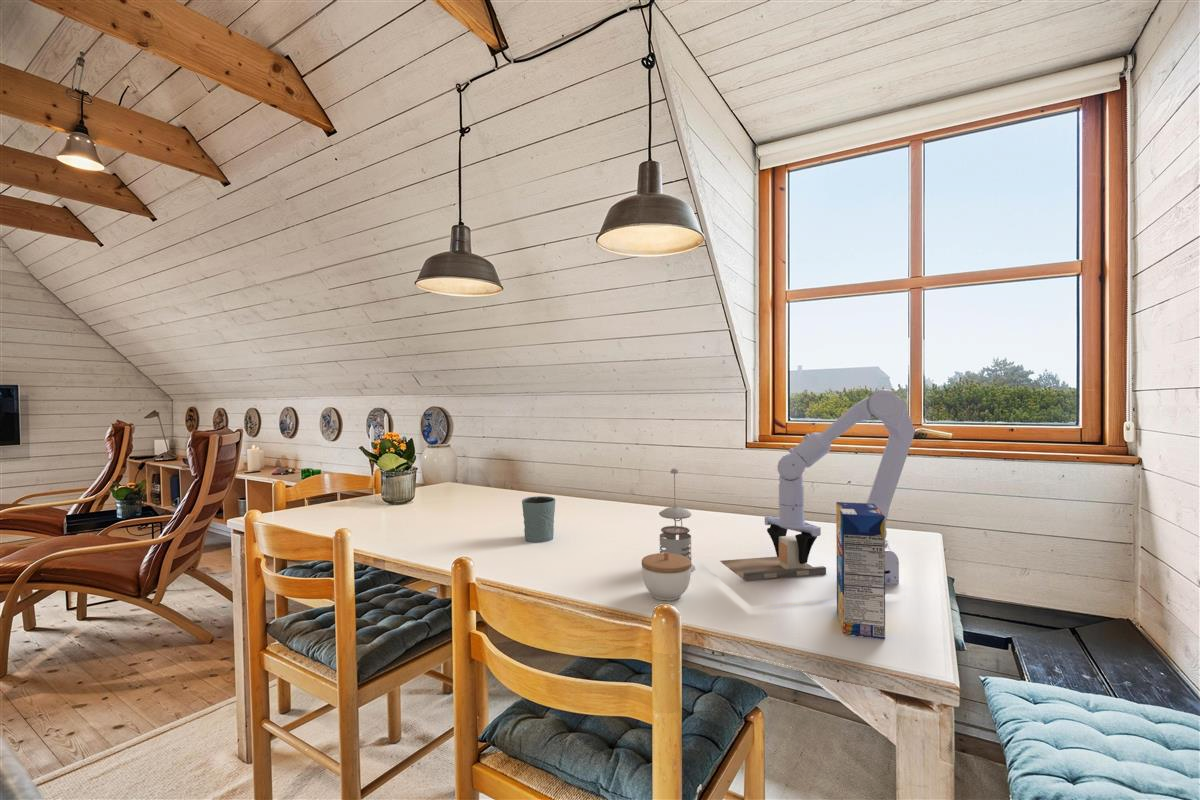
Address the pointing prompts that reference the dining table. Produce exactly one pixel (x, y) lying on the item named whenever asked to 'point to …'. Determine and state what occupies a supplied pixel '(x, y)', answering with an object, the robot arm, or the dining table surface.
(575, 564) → the dining table surface
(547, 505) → the teal textured cup
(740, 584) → the dining table surface
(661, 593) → the lidded jar
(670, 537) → the french press
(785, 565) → the carton
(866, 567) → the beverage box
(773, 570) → the shelf board
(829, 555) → the dining table surface
